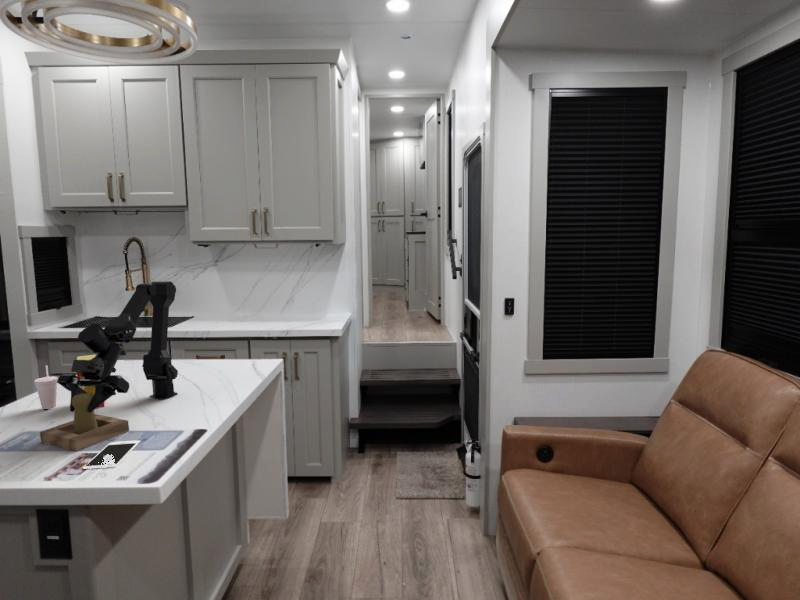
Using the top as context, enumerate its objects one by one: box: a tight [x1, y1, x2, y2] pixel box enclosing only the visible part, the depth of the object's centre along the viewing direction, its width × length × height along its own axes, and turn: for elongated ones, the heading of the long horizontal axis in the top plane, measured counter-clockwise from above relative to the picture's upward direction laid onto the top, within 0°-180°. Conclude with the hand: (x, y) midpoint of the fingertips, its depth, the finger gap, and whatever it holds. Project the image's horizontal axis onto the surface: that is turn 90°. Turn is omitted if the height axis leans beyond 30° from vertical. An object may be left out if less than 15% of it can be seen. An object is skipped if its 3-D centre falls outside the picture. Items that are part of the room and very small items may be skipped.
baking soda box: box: [76, 353, 106, 409], centre depth 168 cm, size 10×6×16 cm
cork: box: [70, 393, 98, 435], centre depth 141 cm, size 6×6×11 cm
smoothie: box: [33, 364, 59, 410], centre depth 166 cm, size 6×6×14 cm
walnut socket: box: [39, 413, 130, 452], centre depth 142 cm, size 15×15×3 cm
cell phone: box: [82, 440, 141, 469], centre depth 130 cm, size 8×16×1 cm, turn 7°
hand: (80, 411), depth 140 cm, fingers closed on cork, 5 cm apart
